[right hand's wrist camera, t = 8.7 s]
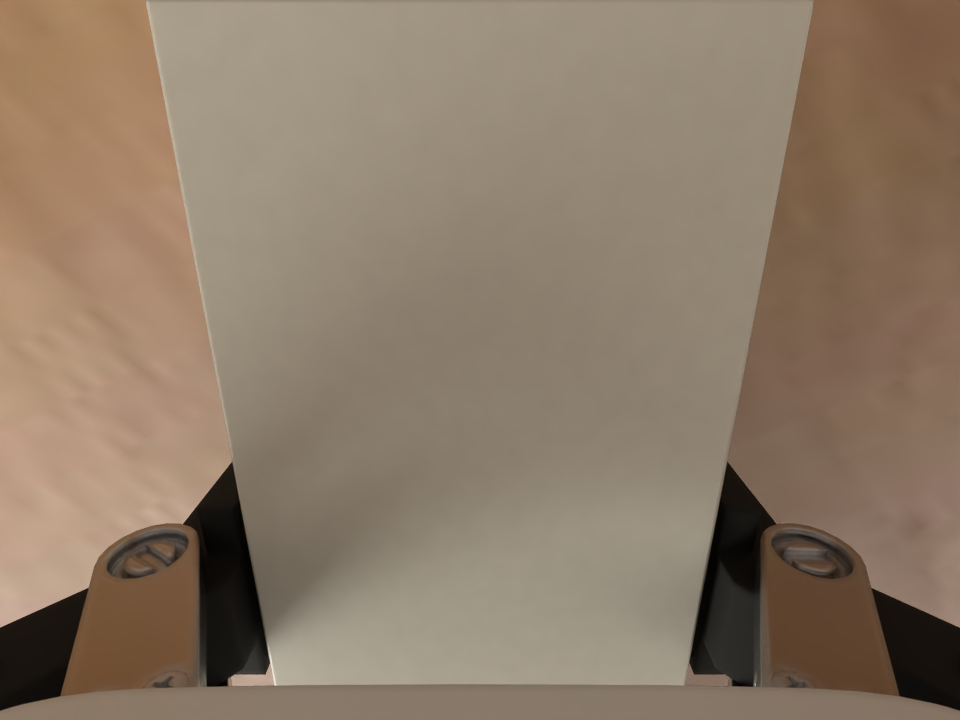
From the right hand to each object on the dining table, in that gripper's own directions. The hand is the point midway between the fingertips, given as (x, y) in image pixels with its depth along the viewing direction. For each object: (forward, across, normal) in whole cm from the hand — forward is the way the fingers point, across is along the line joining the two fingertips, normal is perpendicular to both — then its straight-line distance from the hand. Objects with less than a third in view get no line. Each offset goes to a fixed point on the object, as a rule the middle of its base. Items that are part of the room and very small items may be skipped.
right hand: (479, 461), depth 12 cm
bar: (+1, 0, -30) cm, 30 cm away
